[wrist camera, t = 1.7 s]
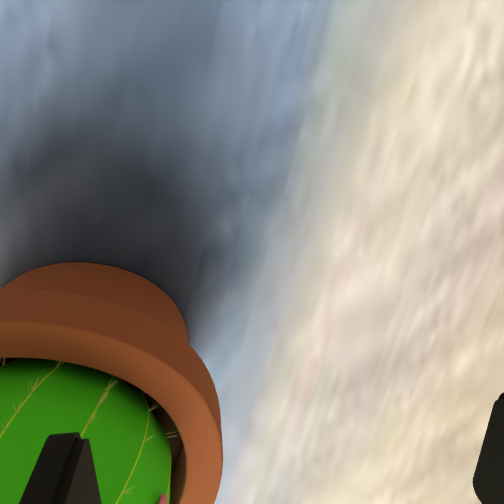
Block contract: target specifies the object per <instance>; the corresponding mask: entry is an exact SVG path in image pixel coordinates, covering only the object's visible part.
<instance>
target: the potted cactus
mask: <svg viewBox="0 0 504 504" xmlns="http://www.w3.org/2000/svg"><path fill="white" fill-rule="evenodd" d="M72 432H79V433H80V436H81V439H86V438H88V439H89V441H90V445H91V451H92V456H93V461H94V466H95V471H96V476H97V482H98V487H99V492H100V497H101V502H102V504H214V502H215V499H216V496H217V493H218V490H219V486H220V481H221V476H222V466H223V447H222V432H221V417H220V408H219V401H218V396H217V393H216V389H215V386H214V383H213V381H212V378H211V376H210V374H209V372H208V370H207V368H206V366H205V365H204V363H203V361H202V360H201V358H200V357H199V356H198V355H197V353H196V352H195V351H194V349H193V348H192V347H191V346H190V345H189V338H188V333H187V328H186V325H185V322H184V319H183V317H182V315H181V313H180V311H179V309H178V307H177V306H176V304H175V303H174V302H173V300H172V299H171V298H170V297H169V296H168V295H167V294H166V293H165V292H164V291H163V290H162V289H160V288H159V287H158V286H156V285H155V284H153V283H152V282H150V281H149V280H147V279H145V278H143V277H141V276H139V275H137V274H134V273H132V272H129V271H126V270H123V269H120V268H117V267H113V266H109V265H103V264H97V263H87V262H68V263H58V264H51V265H47V266H42V267H39V268H36V269H33V270H30V271H28V272H26V273H24V274H22V275H20V276H18V277H17V278H15V279H13V280H12V281H11V282H9V283H8V284H7V285H6V286H4V287H3V288H2V289H1V290H0V504H19V502H20V500H21V497H22V495H23V492H24V490H25V488H26V485H27V483H28V481H29V478H30V476H31V474H32V471H33V469H34V467H35V464H36V462H37V460H38V457H39V455H40V453H41V450H42V448H43V446H44V443H45V441H46V439H47V437H48V436H49V435H50V434H61V433H72Z"/></svg>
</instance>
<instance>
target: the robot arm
mask: <svg viewBox="0 0 504 504" xmlns="http://www.w3.org/2000/svg"><path fill="white" fill-rule="evenodd" d="M473 487H474V491H475V493H476V495H477V497H478V499H479V500H480V501H481V503H482V504H504V393H502V394H501V395H500V396H499V399H498V400H496V401H495V403H494V405H493V409H492V412H491V416H490V420H489V423H488V427H487V430H486V434H485V438H484V441H483V445H482V448H481V452H480V455H479V459H478V463H477V466H476V470H475V473H474V477H473ZM19 504H102V502H101V497H100V492H99V487H98V482H97V476H96V471H95V466H94V461H93V456H92V451H91V445H90V441H89V439H88V438H86V439H81V436H80V433H79V432H72V433H61V434H50V435H49V436H48V437H47V439H46V441H45V443H44V446H43V448H42V450H41V453H40V455H39V457H38V460H37V462H36V464H35V467H34V469H33V471H32V474H31V476H30V478H29V481H28V483H27V485H26V488H25V490H24V492H23V495H22V497H21V500H20V502H19Z"/></svg>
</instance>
